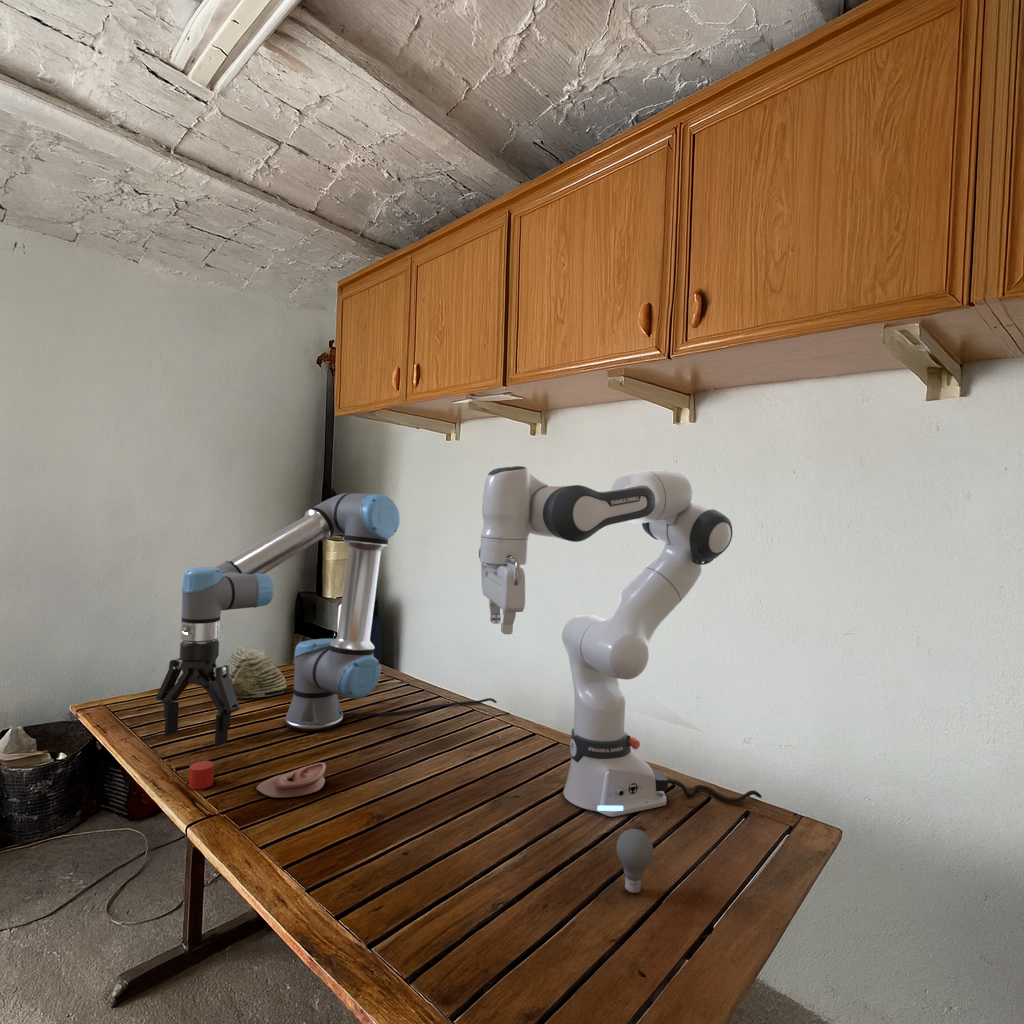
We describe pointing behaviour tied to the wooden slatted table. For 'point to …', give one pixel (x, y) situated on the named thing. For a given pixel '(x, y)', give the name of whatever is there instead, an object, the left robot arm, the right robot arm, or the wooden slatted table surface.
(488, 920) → the wooden slatted table surface
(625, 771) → the right robot arm
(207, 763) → the red cylinder
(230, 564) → the left robot arm
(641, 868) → the light bulb
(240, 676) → the fossil
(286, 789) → the anatomical model
